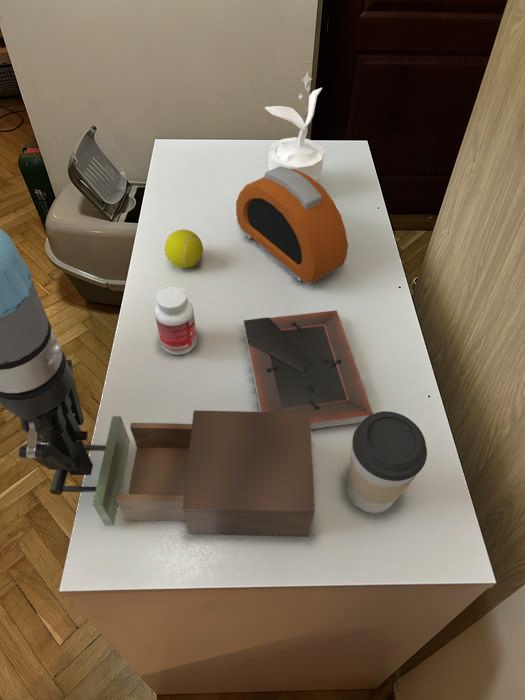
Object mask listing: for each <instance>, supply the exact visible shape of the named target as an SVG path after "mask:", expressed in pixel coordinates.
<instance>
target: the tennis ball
mask: <svg viewBox="0 0 525 700" xmlns="http://www.w3.org/2000/svg"><path fill="white" fill-rule="evenodd" d="M203 252H204V246H203V242H202V240H201V238H200V237H199V236H198V234H196V233H195V232H193V231H192V230H189V229H178V230H175V231H173V232H171V234H170V235H169V236H168V237H167V238H166V240H165V243H164V253H165V256H166V258H167V260H168V261H169V262H170V263H171V264H172V265H174V266H175V267H177V268H181V269H189V268H191V267H193V266H195V265H196V264H198V262H199V261H200V260H201V258H202V256H203Z"/></svg>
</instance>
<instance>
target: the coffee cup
mask: <svg viewBox="0 0 525 700" xmlns="http://www.w3.org/2000/svg"><path fill="white" fill-rule="evenodd" d="M427 458H428V449H427V444H426V439H425V436H424V434H423V432H422V430H421V429H420V428H419V426H418V425H417V423H415V422H414V421H413V420H412V419H410V418H409V417H408V416H406V415H404V414H401V413H398V412H395V411H389V410H387V411H385V410H383V411H377V412H374V413H373V414H371V415H370V416H368V417H366V418H365V419H364V420H363V421H362V422H360V423H358V425H357V427H356V428H355V430H354V432H353V435H352V442H351V449H350V459H349V467H348V479H347V493H348V496H349V498H350V500H351V502H352V503H353V505H355V506H356V507H357V508H358V509H360V510H361V511H364V512H366V513H369V514H378V513H383V512H385V511H387V510H388V509H390V507H391V506H392V505H393V504H394V502H395V501H396V500H397V499H399V497H400V496H401V495H402V494H403V493H404V492H405V490H406V489H407V488H408V486H409V485H410V484H411V483H412V482H413V481H414V479H415V478H416V477H417V475H418V474H419V473H420V472H421V471H422V469H423V468H424V466H425V465H426V462H427Z"/></svg>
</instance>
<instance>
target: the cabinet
mask: <svg viewBox="0 0 525 700" xmlns="http://www.w3.org/2000/svg"><path fill="white" fill-rule="evenodd" d="M192 412H193V413H192V421H191V422H192V423H191V424H192V430H191V438H190V447H189V456H188V465H187V474H186V482H185V491H184V500H183V512H184V515H185V519H186V520H185V523H186V527H187V530H188V534H189V535H198V536H199V535H200V536H201V535H203V536H204V535H205V536H246V537H247V536H251V537H292V538H293V537H297V538H300V537H301V538H309V536H310V532H311V528H312V524H313V519H314V515H315V512H316V511H315V510H316V509H315V492H314V491H315V489H314V468H313V467H314V466H313V448H312V447H313V446H312V429H311V423H310V413H293V412H260V411H246V410H245V411H244V410H243V411H242V410H198V409H197V410H196V409H195V410H193V411H192Z"/></svg>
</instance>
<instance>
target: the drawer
mask: <svg viewBox="0 0 525 700" xmlns="http://www.w3.org/2000/svg"><path fill="white" fill-rule="evenodd" d="M129 429H130V432H131V434H132V437H133V440H134V443H135V445H136V450H135V454H134V461H133V467H132V471H131V476H130V482H129V487H128V493H121V492H122V491H121V490H122V485H123V480H124V475H125V470H126V465H127V459H128V454H129V448H130V444H131V439H130V438H129V437H130V436H129V434H128V432H127V428H126V426H125V423H124V421H123V418H122V416H120V415H119V416H118V415H117V416H116V415H113V416H112V417H111V421H110V426H109V430H108V433H107V439H106V444H84V448H85V450H86V452H87V451H89V452H91V451H92V452H103V456H102V461H101V466H100V469H99V475H98V479H97V484H96V486H84V485H66V482H67V478H68V476H69V475H68V474H69V471H68V470H54V474H53V478H52V482H51V485H50V489H49V493H50V494H52V495H57V496H60V495H63V493H94V496H93V497H94V498H93V501H92V507H93V508H94V510H95V512H96V513H97V515H98V517H99V518H100V519H101V521H102V523H103V525H104V526H106V527H107V526H108V527H112V526H113V527H114V526H115V521H116V516H117V512H118V508H119V510H120V512H121V514H122V516H123V517H124V519H125V520H150V521H152V520H153V521H186V519H185V515H184V512H183V500H184V491H185V482H186V474H187V465H188V456H189V447H190V438H191V430H192V423H172V422H171V423H169V422H167V423H166V422H165V423H164V422H130V425H129Z"/></svg>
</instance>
